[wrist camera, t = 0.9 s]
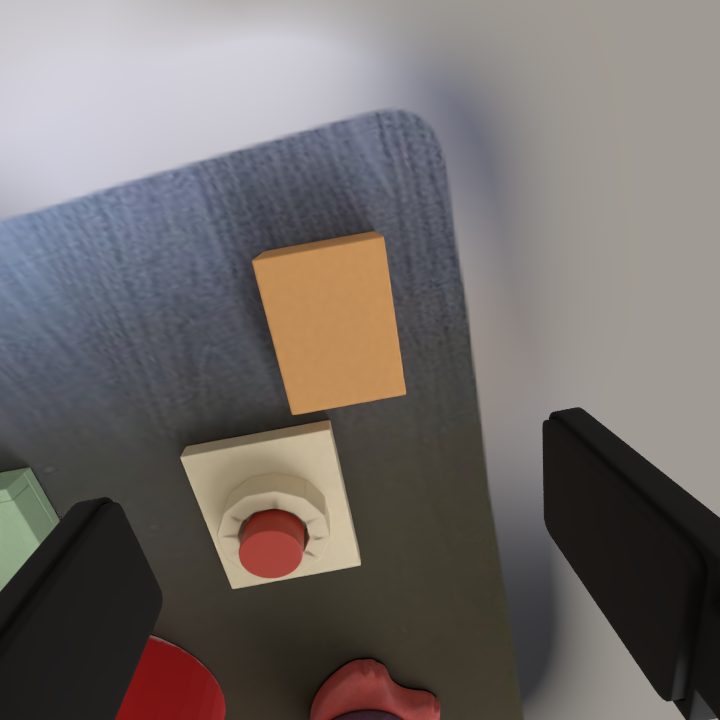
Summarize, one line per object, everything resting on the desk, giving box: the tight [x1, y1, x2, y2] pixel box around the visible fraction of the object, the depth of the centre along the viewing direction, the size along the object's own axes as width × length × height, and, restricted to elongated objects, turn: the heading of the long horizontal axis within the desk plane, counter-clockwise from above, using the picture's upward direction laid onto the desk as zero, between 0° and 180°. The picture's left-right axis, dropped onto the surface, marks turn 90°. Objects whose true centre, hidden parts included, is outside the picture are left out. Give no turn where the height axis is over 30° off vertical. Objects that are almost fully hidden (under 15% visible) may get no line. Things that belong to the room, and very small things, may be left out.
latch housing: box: [180, 420, 361, 589], centre depth 26 cm, size 11×9×3 cm
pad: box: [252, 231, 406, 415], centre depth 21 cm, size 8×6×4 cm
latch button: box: [239, 509, 304, 578], centre depth 24 cm, size 4×4×2 cm
